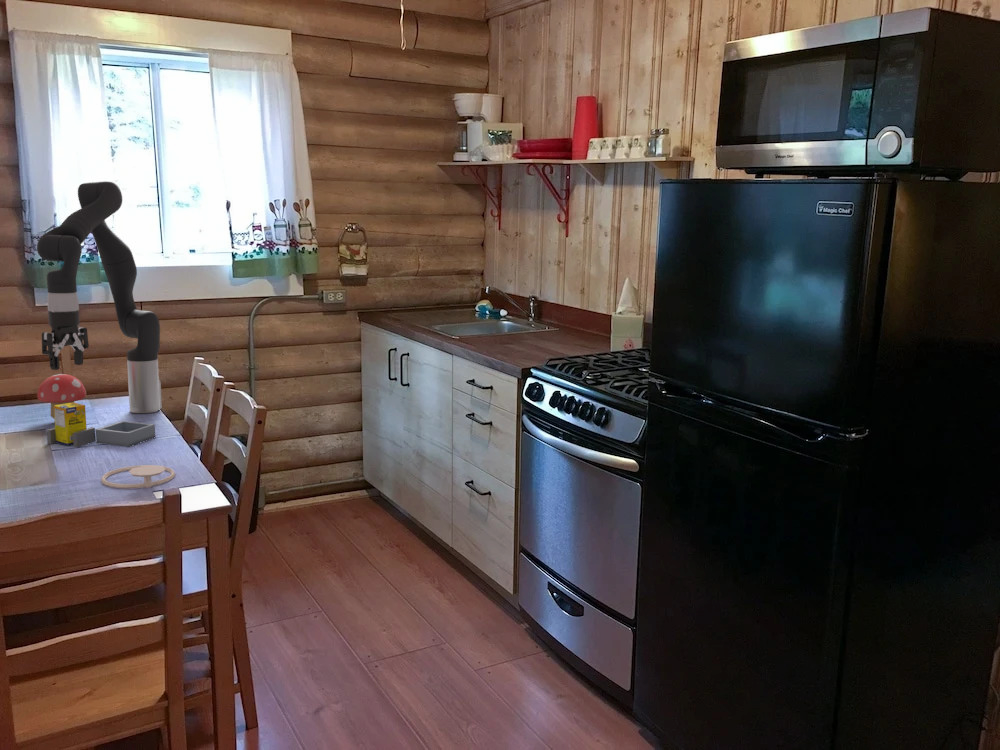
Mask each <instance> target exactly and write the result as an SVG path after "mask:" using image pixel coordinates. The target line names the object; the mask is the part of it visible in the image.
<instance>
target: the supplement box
mask: <svg viewBox="0 0 1000 750" xmlns="http://www.w3.org/2000/svg"><path fill="white" fill-rule="evenodd" d="M53 407H54V418H53V419H54V428H55V434H56V443H55V444H60V445H63V446H67V447H70V446H71V447H72V446H74V445H73V433H75V432H78V431H81V430H84V429H88V428H87V416H86V405H85V404H83V403H82V404H81V403H77V402H75V401H74V402H72V403H66V404H60V405H54V406H53Z"/></svg>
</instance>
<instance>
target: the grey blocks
mask: <svg viewBox="0 0 1000 750" xmlns="http://www.w3.org/2000/svg"><path fill="white" fill-rule="evenodd" d="M95 429H96V428H95V427H89V428H87V429H84V430H81V431H78V432H75V433H73V445H72V446H73V448H80V447H82V445H83V446H85V445H86V446H87V445H89V444H92V443H96V430H95ZM46 440H47V441H46V442H47V443H46V444H47V445H54V444H57V443H56V434H55V427H52V428H49V429H46ZM53 443H54V444H53ZM88 443H89V444H88Z"/></svg>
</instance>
